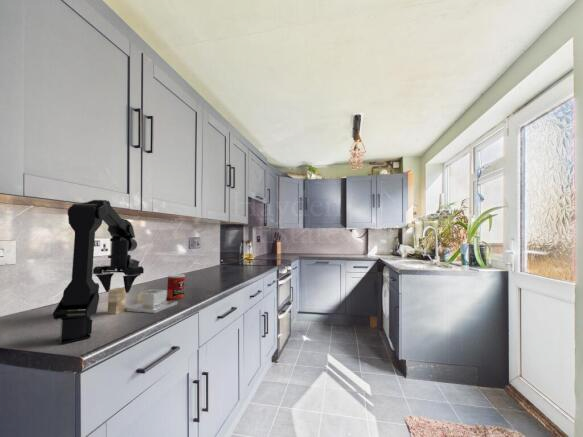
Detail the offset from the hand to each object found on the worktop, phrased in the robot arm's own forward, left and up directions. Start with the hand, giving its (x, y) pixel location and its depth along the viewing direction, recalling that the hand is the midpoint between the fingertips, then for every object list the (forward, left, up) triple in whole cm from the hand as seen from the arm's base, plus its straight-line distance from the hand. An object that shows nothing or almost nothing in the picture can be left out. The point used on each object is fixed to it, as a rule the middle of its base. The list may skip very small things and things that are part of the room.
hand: (117, 292), depth 102 cm
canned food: (+26, +6, -8) cm, 28 cm away
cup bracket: (+12, -3, -8) cm, 15 cm away
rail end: (0, 0, -8) cm, 8 cm away
